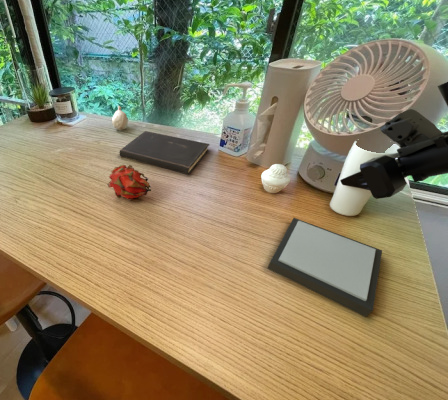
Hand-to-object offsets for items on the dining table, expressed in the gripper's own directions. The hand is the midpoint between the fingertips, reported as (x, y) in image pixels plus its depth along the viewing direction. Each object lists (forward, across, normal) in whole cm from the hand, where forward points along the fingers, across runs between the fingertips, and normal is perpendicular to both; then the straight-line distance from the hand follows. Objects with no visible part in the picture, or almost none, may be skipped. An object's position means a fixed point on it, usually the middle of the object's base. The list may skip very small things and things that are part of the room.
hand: (351, 177), depth 51 cm
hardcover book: (+34, +18, -24) cm, 46 cm away
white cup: (+4, 0, +6) cm, 8 cm away
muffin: (+14, +6, -2) cm, 15 cm away
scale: (0, +17, +11) cm, 20 cm away
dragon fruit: (+25, +37, -14) cm, 47 cm away
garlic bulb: (+52, +21, -42) cm, 71 cm away
